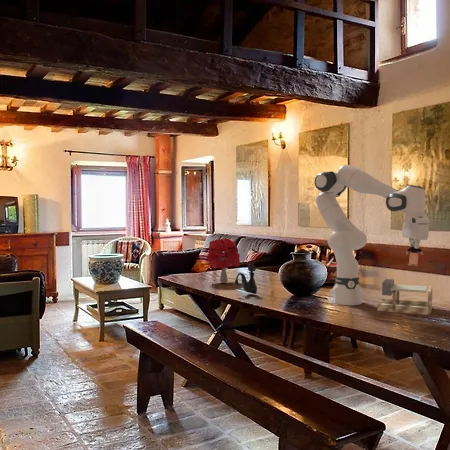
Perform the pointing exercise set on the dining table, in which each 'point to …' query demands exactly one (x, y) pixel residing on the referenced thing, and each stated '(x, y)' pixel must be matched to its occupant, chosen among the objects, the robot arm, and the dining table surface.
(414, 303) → the frame
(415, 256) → the grandmother figurine
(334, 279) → the stew
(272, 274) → the dining table surface
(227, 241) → the bouquet
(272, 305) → the dining table surface
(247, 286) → the cat figurine
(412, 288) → the hammer
